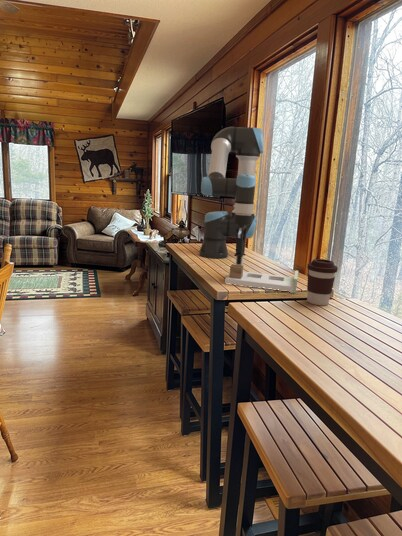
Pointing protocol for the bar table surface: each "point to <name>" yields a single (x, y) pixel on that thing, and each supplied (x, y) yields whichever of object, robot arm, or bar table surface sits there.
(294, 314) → the bar table surface
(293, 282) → the board
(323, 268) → the coffee cup
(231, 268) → the block
